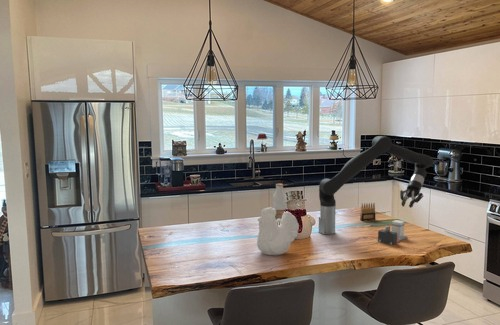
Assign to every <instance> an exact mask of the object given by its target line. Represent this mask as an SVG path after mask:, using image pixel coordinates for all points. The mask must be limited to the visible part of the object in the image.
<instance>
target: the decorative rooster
mask: <svg viewBox="0 0 500 325" xmlns="http://www.w3.org/2000/svg"><path fill="white" fill-rule="evenodd" d="M275 215H276V210H275V209H274V208H272V207H266V208H263V209H262V210H261V212H260V216H259V217H258V218H257V221H258V229H259V230H258V235H257V241H256V245H257V248H258V250H259V251H260V252H261V253H262V254H264V255H266V256H267V255H268V256H269V255H270V256H278V255H284V254H285V253H286V252H287V251H288V250H289V248H290V246H291V242H294V241H295V239H296V238H297V237H298V234H299V229H300V228H299V227H300V225H299V222H298V219H297V217H296V216H295V215H293V213H291V212H289V211H288V210H287V211H286V212H284V213H283V215H282V219H277V220H276V218H275ZM278 221H280V225H277V223H278Z"/></svg>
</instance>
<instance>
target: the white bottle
mask: <svg viewBox="0 0 500 325" xmlns="http://www.w3.org/2000/svg"><path fill="white" fill-rule="evenodd" d="M283 188H284V184H283V183H275V191H274V193H273V195H272V198H271V199H272V203H271V204H272V205H271V208H274V209H275V210H276V215H275V218H276V220H277V219H281V218H282V215H283V213H284V212H285V210H286V209H287V207H288V206H287V205H288V204H287V194H286V193H285V192H284V189H283ZM287 210H288V209H287ZM278 222H279V221H278ZM277 225H278V223H277Z"/></svg>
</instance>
